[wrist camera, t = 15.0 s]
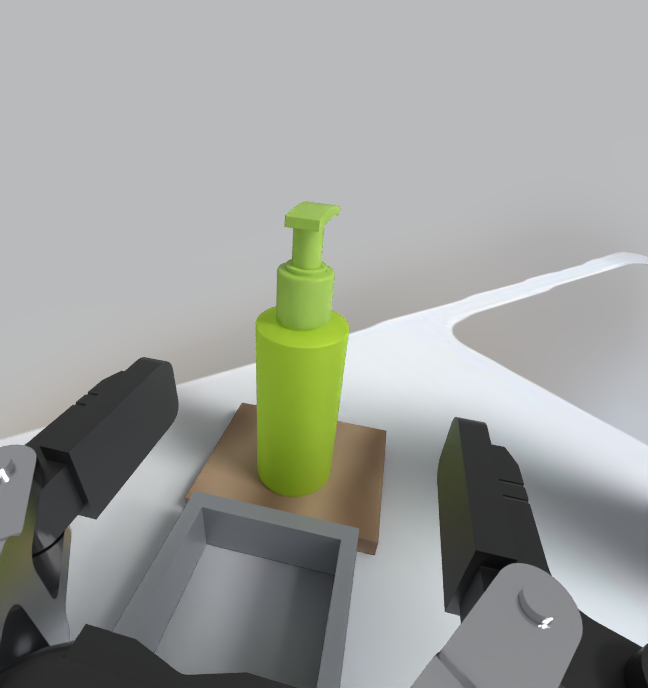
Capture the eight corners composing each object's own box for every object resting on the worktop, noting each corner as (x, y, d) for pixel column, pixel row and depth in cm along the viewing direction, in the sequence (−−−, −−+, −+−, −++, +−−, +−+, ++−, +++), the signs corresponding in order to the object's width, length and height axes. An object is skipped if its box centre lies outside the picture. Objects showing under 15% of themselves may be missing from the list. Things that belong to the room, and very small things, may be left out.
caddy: (351, 564, 26) (359, 528, 24) (323, 781, 17) (331, 754, 15) (199, 527, 27) (194, 490, 25) (104, 711, 19) (84, 678, 17)
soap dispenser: (339, 440, 33) (373, 203, 23) (320, 506, 28) (353, 229, 17) (277, 425, 34) (282, 191, 24) (245, 485, 29) (235, 212, 18)
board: (383, 442, 36) (386, 430, 35) (374, 555, 26) (378, 542, 26) (242, 414, 37) (242, 402, 37) (187, 510, 28) (185, 497, 27)
